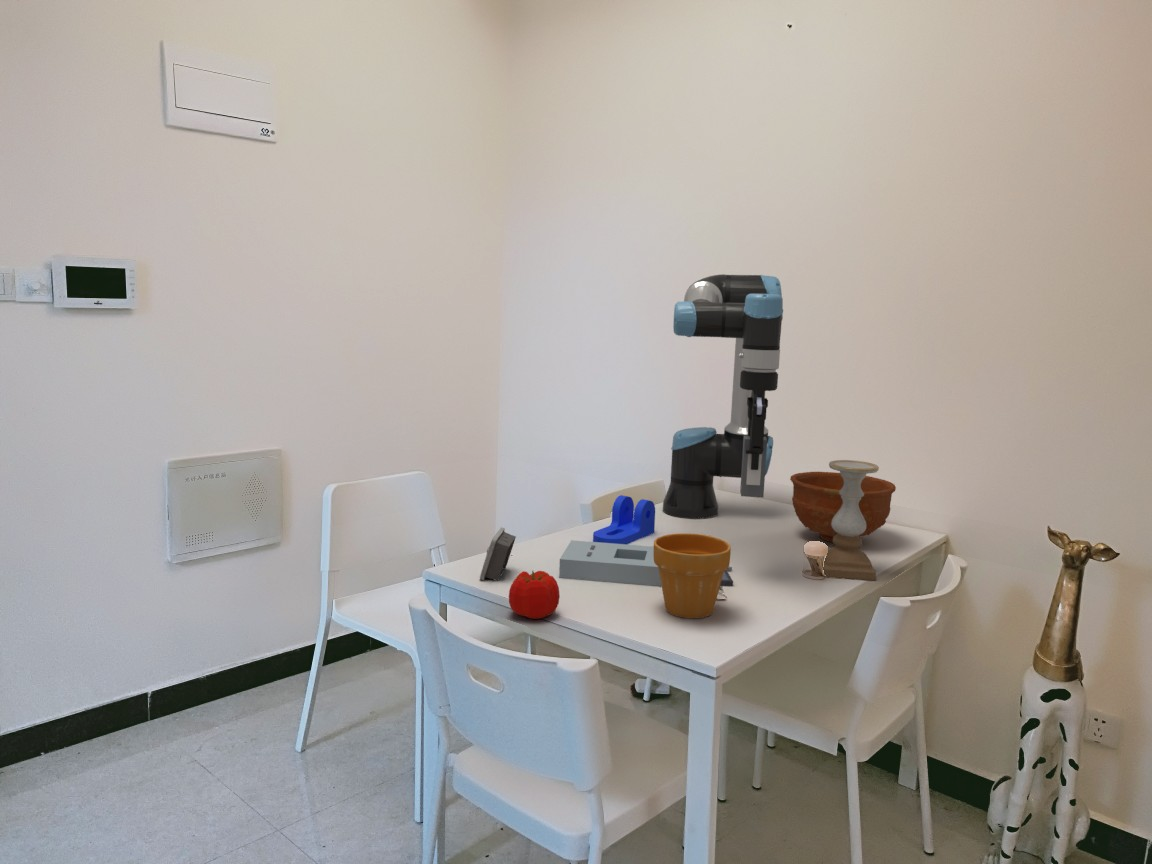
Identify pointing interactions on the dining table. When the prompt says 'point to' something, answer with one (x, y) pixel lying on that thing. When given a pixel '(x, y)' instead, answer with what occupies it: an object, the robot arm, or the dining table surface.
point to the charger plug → (746, 489)
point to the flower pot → (691, 572)
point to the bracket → (628, 522)
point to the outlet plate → (609, 563)
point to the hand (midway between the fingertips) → (752, 481)
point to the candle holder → (849, 525)
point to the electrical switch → (497, 555)
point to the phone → (726, 579)
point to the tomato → (534, 594)
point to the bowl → (838, 501)
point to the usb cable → (729, 569)
